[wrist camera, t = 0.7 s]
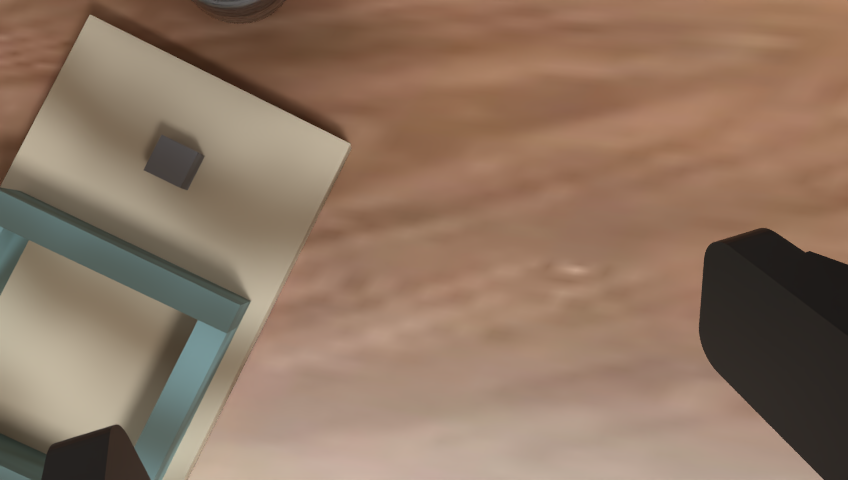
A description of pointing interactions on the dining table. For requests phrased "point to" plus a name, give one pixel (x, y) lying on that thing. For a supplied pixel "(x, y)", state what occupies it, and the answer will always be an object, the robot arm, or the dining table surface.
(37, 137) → the beige board with frame
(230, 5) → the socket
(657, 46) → the dining table surface
